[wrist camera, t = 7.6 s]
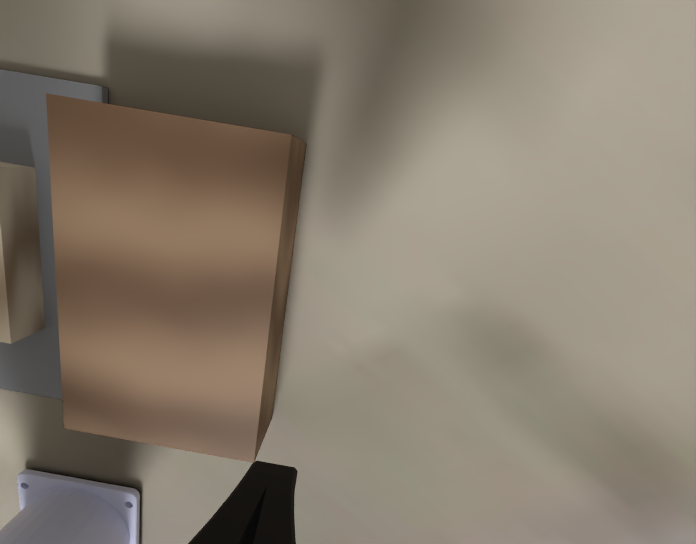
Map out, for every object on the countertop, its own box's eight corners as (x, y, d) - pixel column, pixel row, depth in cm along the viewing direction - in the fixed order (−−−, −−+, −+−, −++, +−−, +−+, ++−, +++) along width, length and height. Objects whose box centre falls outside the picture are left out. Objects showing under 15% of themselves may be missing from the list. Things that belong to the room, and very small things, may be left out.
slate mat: (111, 403, 22) (107, 407, 21) (-77, 370, 22) (-84, 373, 22) (107, 88, 17) (101, 86, 17) (-130, 48, 17) (-142, 45, 17)
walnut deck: (272, 418, 21) (253, 462, 18) (111, 389, 22) (63, 428, 18) (306, 143, 17) (291, 134, 14) (108, 110, 18) (45, 93, 14)
